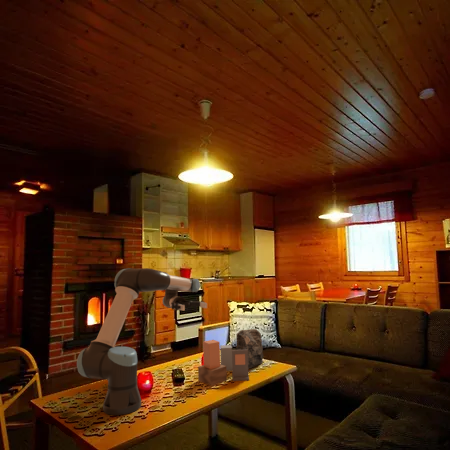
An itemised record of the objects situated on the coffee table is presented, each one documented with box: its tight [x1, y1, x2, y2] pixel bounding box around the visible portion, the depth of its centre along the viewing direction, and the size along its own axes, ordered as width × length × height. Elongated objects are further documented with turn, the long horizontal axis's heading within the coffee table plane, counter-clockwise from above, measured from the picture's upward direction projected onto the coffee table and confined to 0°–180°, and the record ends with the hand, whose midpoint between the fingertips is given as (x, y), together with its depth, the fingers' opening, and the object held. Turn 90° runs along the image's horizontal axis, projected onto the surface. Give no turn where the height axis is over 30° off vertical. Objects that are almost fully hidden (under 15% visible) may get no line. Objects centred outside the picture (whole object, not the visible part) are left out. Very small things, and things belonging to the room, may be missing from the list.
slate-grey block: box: [220, 344, 233, 372], centre depth 190 cm, size 6×6×12 cm
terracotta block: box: [202, 339, 221, 369], centre depth 173 cm, size 6×6×12 cm
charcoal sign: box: [231, 349, 250, 382], centre depth 173 cm, size 8×4×14 cm, turn 93°
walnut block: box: [197, 363, 228, 386], centre depth 172 cm, size 10×10×7 cm
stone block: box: [235, 328, 264, 369], centre depth 195 cm, size 18×9×20 cm, turn 130°
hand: (195, 306), depth 185 cm, fingers open, 13 cm apart
